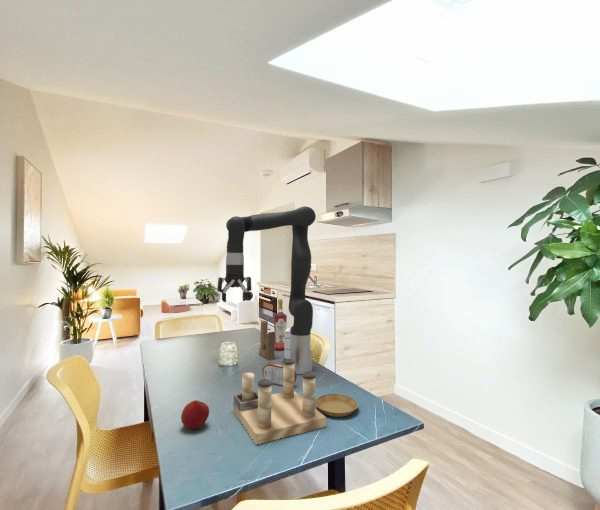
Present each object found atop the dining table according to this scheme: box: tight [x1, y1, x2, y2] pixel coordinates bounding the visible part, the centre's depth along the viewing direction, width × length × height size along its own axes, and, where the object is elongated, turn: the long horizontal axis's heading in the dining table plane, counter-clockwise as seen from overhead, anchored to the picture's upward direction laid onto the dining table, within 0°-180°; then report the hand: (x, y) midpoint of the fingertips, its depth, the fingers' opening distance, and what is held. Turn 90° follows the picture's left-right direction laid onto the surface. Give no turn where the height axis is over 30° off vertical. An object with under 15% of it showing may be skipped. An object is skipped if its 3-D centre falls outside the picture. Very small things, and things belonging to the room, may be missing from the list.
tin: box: [261, 361, 298, 387], centre depth 138 cm, size 15×3×8 cm, turn 65°
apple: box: [180, 399, 210, 430], centre depth 104 cm, size 8×8×8 cm
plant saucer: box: [315, 393, 359, 418], centre depth 117 cm, size 15×15×3 cm
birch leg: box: [241, 372, 255, 402], centre depth 113 cm, size 4×4×10 cm
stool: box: [232, 358, 327, 446], centre depth 110 cm, size 23×23×16 cm
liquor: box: [273, 298, 288, 351], centre depth 189 cm, size 7×7×28 cm
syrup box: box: [283, 327, 291, 359], centre depth 174 cm, size 6×6×14 cm
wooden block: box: [258, 320, 276, 361], centre depth 174 cm, size 4×11×18 cm, turn 33°
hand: (234, 301), depth 144 cm, fingers open, 8 cm apart
